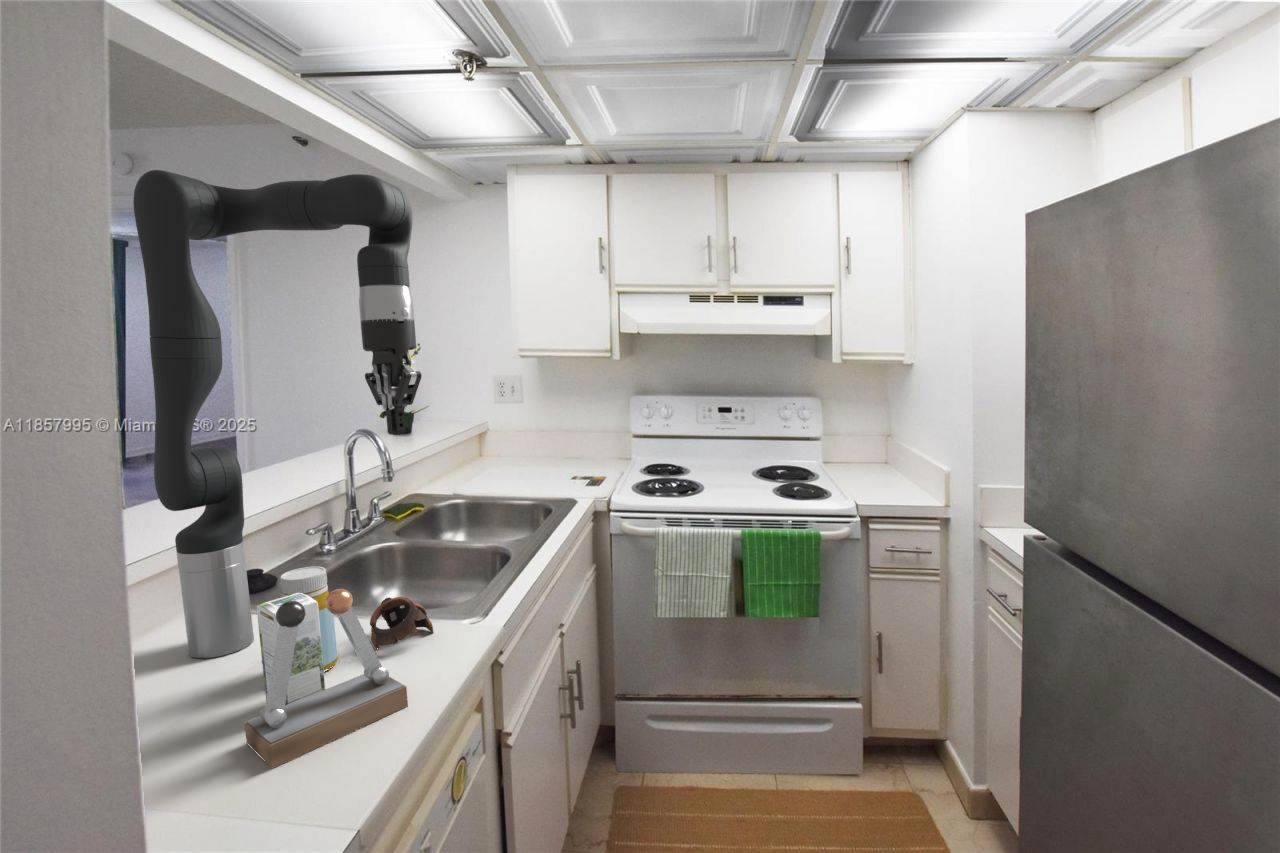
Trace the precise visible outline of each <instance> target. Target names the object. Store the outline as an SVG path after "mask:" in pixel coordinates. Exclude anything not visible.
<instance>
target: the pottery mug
mask: <svg viewBox="0 0 1280 853" xmlns="http://www.w3.org/2000/svg"><path fill="white" fill-rule="evenodd" d="M380 617H382V618H383V620H384V621H385V622H386V624H387V627H388V628H379V627H377V622H378V620H379V619H380ZM369 626H371V629H370V633H371V637H370V638H371V639H370V640H371V643H372V645H373V647H374V648H376V649H377V648H379V647H384V646H390V645H395V644H398V641H403V640H404V639H406V638H407V637H408V636H410V635H412V634H418V633H419V631H418V629H417V628H426V629H427V630H428V631H429V632H430V634H434V626H433V623H432V622H431V620H430V619H429V617H428V615H427V611H426V608H425V607H424V606H423V605H422V604H421V603H419V602H416V601H414V600H411V599H410V598H408V597H402V596H399V597H398V596H397V597H393V598H392V597H389V596H388V597H386V598H385V599H383V600H382V601H381V602H380V605H379V606H377V608H376V609H375V610H374V611H373V613H372V614H371V617H370V620H369ZM379 649H380V648H379Z"/></svg>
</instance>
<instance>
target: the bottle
mask: <svg viewBox="0 0 1280 853" xmlns="http://www.w3.org/2000/svg"><path fill="white" fill-rule="evenodd" d="M327 583H328V576H327V569H326V567H324V566H307V567H300V568H295V569H292V570H288V571H286V572H285V573H283V574H281V576H280V590H281V591H282V592H281V596H282V597H285V596H289V595H292V594H296V593H302V594H305V595H307V596H309V597H311V598H312V599H314V600H316V602H318V610H319V622H320V634H321V646H322V658H323V669H324V670H326V669H329V668H330V667H332V666H333V665H334V666H335V665H336V663H337V662H338V648H337V637H336V636H337V635H336V627H335V616H334V615H335V614H332V613H331V612H329V611H328V609H327V608H326V598H327V596H328V595H329V594H330V592H329V590H328V589H329V587H328V584H327ZM334 666H333V667H334ZM333 667H332V668H333Z"/></svg>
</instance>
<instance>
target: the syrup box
mask: <svg viewBox="0 0 1280 853" xmlns="http://www.w3.org/2000/svg"><path fill="white" fill-rule="evenodd" d="M288 601H297V602H299V603H301V604H302V605H303V606H304V608H305V618H304V620H303V621H302V622H301V623H300V624H299V626H298V632H297V638H296V643H295V649H294V655H293V661H292V667H291V673H290V679H289V685H288V690H287V696H286V702H285V705H288V704H290V703H293V702H295V701H298V700H300V699H303V698H305V697H308V696H310V695H313V694H315V693H318V692H320V691H323V690H325V689H326V684H325V672H324V669H323V658H322V646H321V634H320V622H319V610H318V602H316V600H314V599H312V598H311V597H309V596H307V595H305V594H302V593H296V594H292V595H289V596H285V597H283V596H282V597H280V598H275V599H272V600H269V601H265V602H263V603H259V604H257V605H256V612H257V613H256V615H257V616H256V617H257V626H258V632H259V633H258V634H259V644H260V653H261V663H262V674H263V681H264V692H265V693H264V694H265V700H266V699H267V693H268V687H269V682H270V676H271V670H272V664H273V658H274V653H275V647H276V641H277V635H278V630H279V624H278V622H277V620H276V612H277V610H278V608H279V607H280V606H281V605H282V604H284V603H285V602H288Z"/></svg>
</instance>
